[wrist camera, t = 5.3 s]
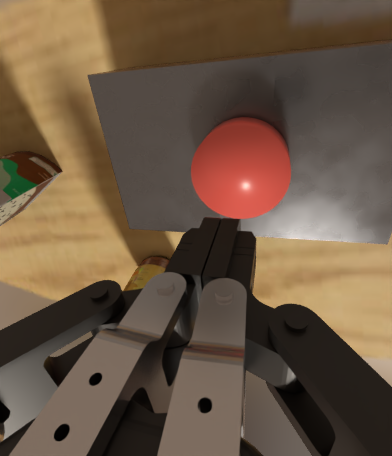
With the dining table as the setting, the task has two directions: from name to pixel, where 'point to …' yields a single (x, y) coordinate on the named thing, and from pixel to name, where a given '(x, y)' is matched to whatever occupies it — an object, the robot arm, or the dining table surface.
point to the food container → (23, 181)
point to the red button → (242, 168)
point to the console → (270, 113)
